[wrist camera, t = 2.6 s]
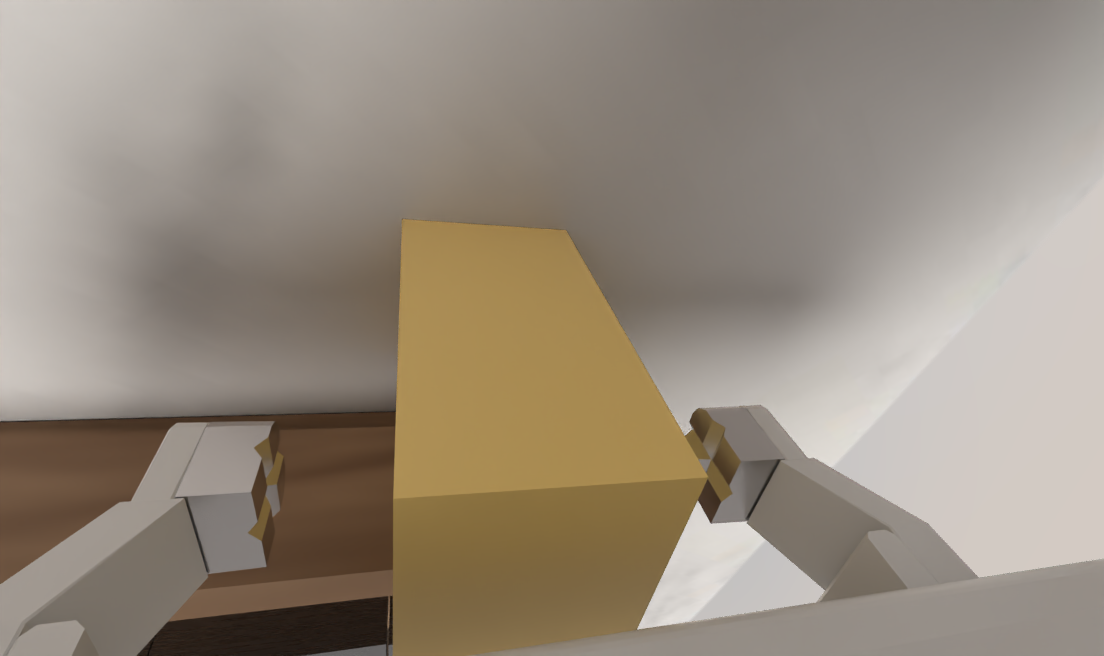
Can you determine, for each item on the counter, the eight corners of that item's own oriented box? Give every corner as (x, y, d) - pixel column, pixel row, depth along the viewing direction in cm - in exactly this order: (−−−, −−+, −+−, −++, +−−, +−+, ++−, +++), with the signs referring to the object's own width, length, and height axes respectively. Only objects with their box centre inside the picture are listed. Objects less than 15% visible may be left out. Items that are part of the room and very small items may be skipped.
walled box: (-83, 424, 13) (-314, 642, 9) (532, 408, 17) (571, 551, 13) (94, 695, 20) (15, 879, 16) (488, 638, 24) (504, 774, 20)
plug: (402, 218, 12) (392, 499, 6) (565, 230, 13) (708, 477, 7) (400, 356, 14) (392, 671, 8) (541, 356, 16) (634, 633, 9)
